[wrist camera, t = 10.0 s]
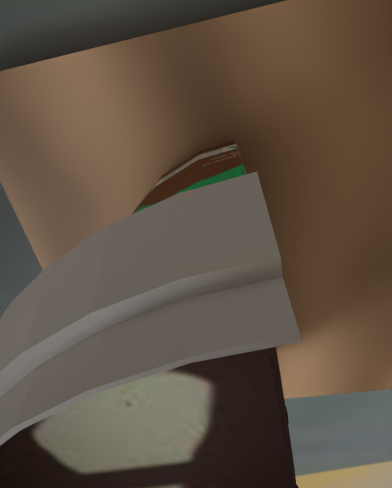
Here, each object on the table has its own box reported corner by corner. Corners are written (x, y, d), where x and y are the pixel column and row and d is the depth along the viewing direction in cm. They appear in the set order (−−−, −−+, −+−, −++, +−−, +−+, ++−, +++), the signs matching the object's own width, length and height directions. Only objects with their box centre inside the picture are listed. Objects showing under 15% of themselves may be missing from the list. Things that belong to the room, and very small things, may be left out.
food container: (40, 133, 12) (-444, 386, 3) (227, 91, 11) (293, 269, 2) (144, 390, 18) (78, 734, 9) (273, 374, 17) (342, 736, 8)
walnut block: (121, 383, 21) (112, 414, 19) (-12, 77, 13) (-48, 82, 11) (383, 355, 18) (400, 388, 17) (400, -25, 11) (434, -37, 9)
